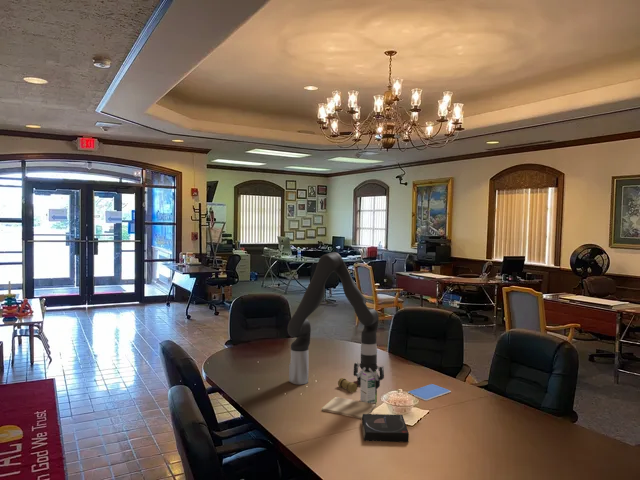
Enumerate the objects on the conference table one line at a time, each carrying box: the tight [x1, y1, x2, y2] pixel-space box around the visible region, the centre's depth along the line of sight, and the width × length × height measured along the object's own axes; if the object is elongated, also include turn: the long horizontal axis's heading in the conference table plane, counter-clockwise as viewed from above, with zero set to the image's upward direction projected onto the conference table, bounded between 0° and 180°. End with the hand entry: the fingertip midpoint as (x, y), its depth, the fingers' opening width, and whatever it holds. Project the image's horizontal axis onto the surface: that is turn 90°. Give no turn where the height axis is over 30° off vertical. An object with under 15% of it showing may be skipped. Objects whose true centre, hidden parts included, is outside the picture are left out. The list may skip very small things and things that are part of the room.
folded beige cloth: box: [321, 396, 377, 420], centre depth 206 cm, size 20×15×1 cm
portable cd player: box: [361, 413, 410, 443], centre depth 184 cm, size 16×17×4 cm
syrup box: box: [359, 370, 378, 404], centre depth 214 cm, size 6×6×14 cm
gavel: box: [337, 377, 360, 394], centre depth 235 cm, size 21×5×10 cm
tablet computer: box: [407, 383, 452, 402], centre depth 226 cm, size 19×13×1 cm, turn 127°
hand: (368, 386), depth 214 cm, fingers open, 8 cm apart
